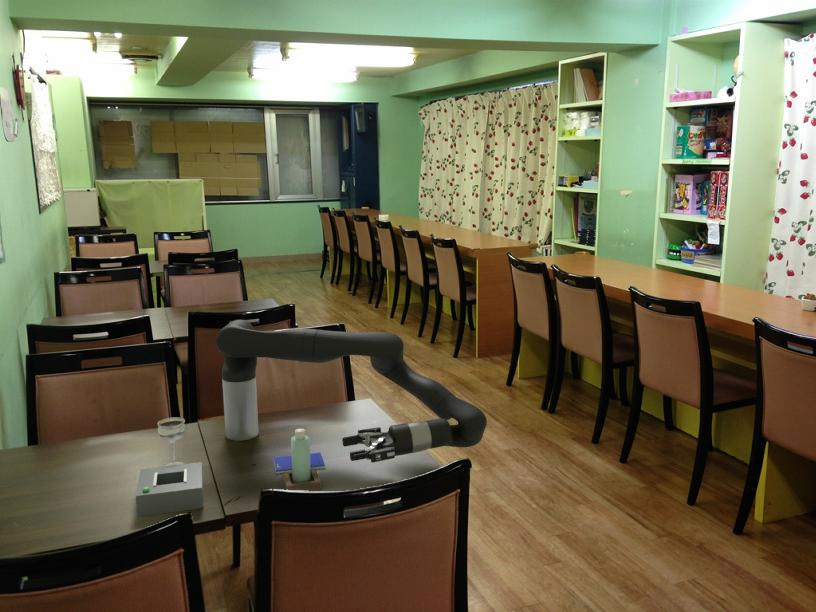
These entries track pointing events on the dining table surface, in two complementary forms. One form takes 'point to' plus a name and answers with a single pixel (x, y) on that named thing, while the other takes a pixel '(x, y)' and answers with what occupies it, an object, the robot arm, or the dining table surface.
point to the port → (170, 489)
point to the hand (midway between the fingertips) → (346, 449)
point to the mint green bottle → (300, 457)
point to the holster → (309, 485)
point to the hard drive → (285, 462)
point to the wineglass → (171, 433)
